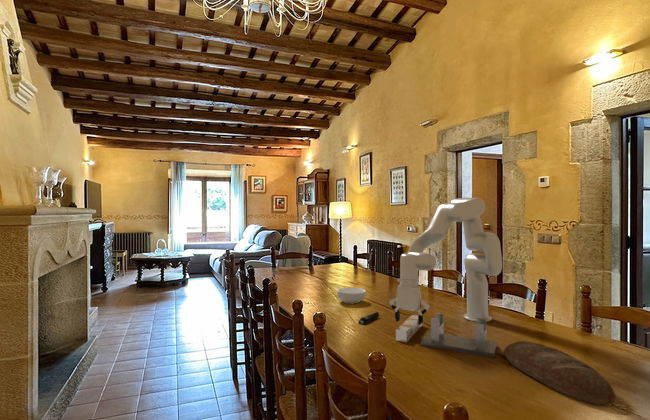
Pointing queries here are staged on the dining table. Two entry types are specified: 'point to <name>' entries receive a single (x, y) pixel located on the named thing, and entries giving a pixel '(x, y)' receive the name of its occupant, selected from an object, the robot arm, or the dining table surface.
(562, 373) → the bread
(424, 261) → the robot arm
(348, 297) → the cereal bowl
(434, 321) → the grey stand
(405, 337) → the white and orange bar
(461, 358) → the dining table surface
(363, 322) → the electric trimmer
